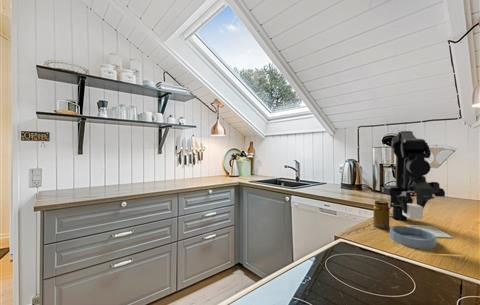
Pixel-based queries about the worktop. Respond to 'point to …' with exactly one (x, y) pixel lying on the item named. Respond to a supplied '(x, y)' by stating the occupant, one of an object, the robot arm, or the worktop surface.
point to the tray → (432, 231)
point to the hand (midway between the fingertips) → (412, 213)
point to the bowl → (413, 237)
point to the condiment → (381, 215)
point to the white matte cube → (414, 211)
